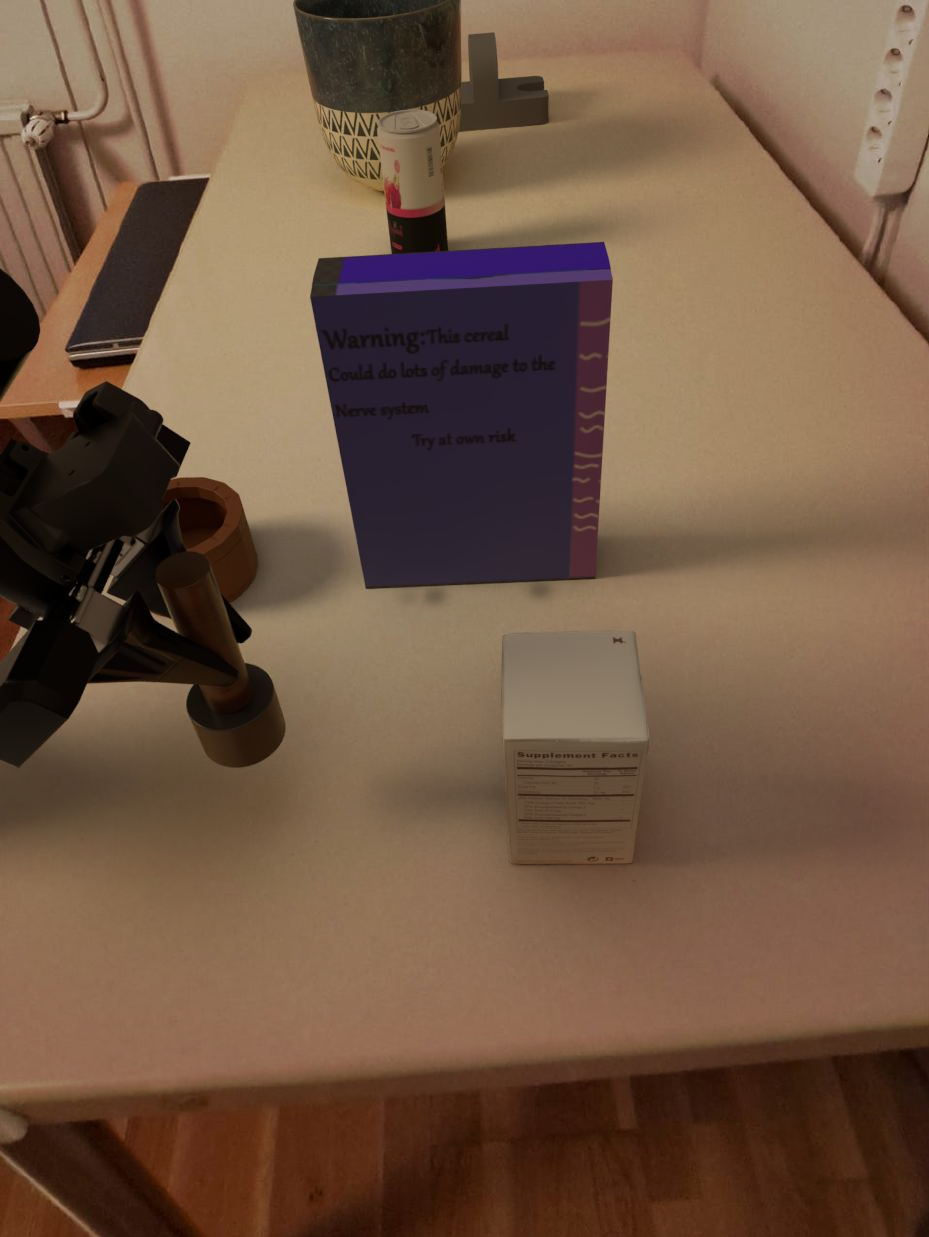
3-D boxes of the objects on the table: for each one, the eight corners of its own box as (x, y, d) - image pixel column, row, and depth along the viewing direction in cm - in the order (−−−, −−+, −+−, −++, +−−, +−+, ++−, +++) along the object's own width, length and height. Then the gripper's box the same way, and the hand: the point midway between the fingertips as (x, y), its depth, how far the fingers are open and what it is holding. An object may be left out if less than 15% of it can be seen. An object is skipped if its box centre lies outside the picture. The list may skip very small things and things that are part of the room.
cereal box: (589, 536, 74) (604, 238, 57) (595, 578, 71) (613, 276, 53) (370, 546, 75) (318, 255, 57) (365, 588, 71) (309, 293, 54)
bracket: (549, 123, 136) (549, 39, 128) (425, 134, 136) (418, 50, 128) (541, 101, 142) (541, 19, 135) (423, 111, 142) (417, 30, 135)
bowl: (138, 633, 70) (113, 580, 66) (124, 550, 76) (101, 497, 72) (269, 595, 72) (253, 541, 68) (245, 517, 78) (229, 464, 74)
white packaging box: (506, 762, 60) (501, 627, 51) (624, 762, 59) (639, 625, 50) (505, 867, 55) (499, 739, 45) (634, 868, 54) (653, 738, 45)
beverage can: (396, 275, 106) (380, 135, 95) (388, 250, 111) (372, 113, 100) (453, 266, 107) (443, 126, 96) (443, 242, 111) (432, 105, 100)
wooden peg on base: (225, 783, 52) (156, 621, 42) (188, 728, 54) (115, 565, 45) (301, 738, 53) (250, 573, 44) (261, 687, 56) (205, 522, 47)
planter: (447, 219, 116) (433, 19, 100) (301, 210, 120) (266, 18, 104) (486, 157, 128) (478, -28, 113) (353, 152, 133) (328, -28, 117)
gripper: (-95, 537, 31) (296, 741, 38) (92, 270, 44) (358, 460, 51) (-187, 687, 37) (163, 837, 44) (0, 415, 50) (248, 566, 57)
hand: (241, 658), depth 49 cm, fingers closed on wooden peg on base, 2 cm apart
